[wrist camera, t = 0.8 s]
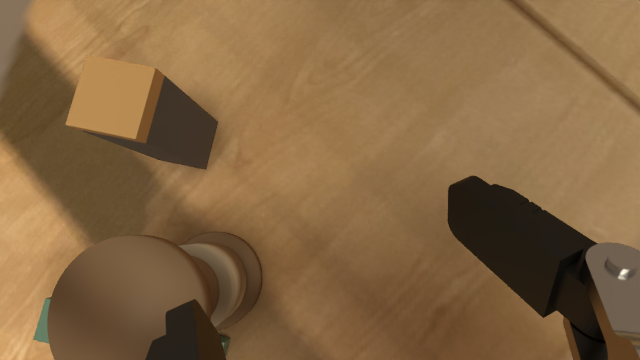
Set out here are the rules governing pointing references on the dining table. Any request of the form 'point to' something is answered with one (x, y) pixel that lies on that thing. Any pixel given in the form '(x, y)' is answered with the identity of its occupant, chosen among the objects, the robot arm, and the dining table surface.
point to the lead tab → (141, 112)
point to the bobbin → (147, 292)
